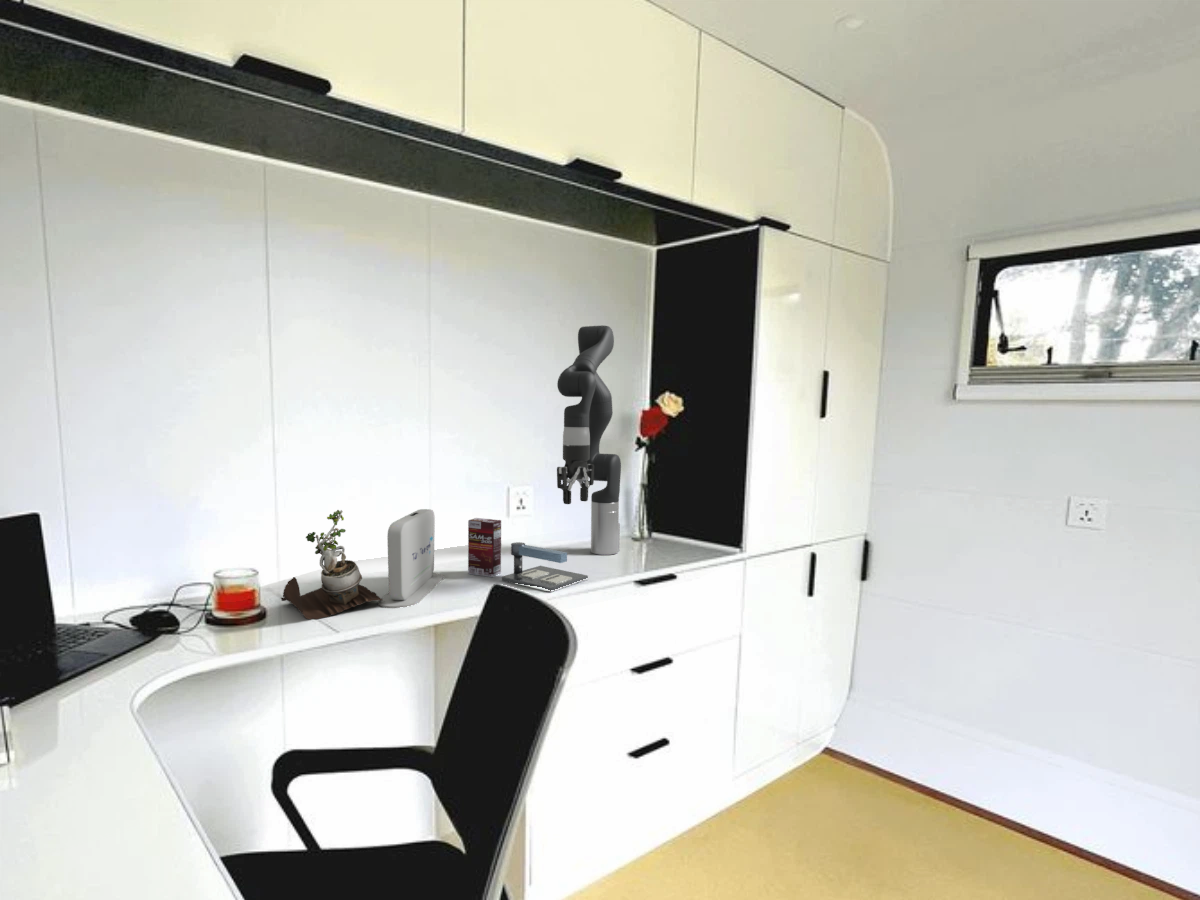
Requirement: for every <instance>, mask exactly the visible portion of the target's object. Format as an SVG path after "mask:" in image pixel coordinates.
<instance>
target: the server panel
mask: <svg viewBox="0 0 1200 900" xmlns="http://www.w3.org/2000/svg"><path fill="white" fill-rule="evenodd" d="M586 578H588V579H589V575H587V574H582V573H577V572H572V571H570V570H569V571H567V570H563V569H557V568H553V567H549V566H544V565H538V566H534V567H530V568H526V569H523V555H522V556H513V573H512V572H511V573H509V574H506V575H502V576H501V581H502V582H505V583H510V584H514V585H516V584H515V583H518V584H524V585H530V586H537V587H542V588H545V589H548V590H550V591H551V590H555V589H558V588H560V587H563V586H566V585H569V584H572V583H574V582H577V581H580V580H583V579H586Z"/></svg>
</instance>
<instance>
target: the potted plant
mask: <svg viewBox="0 0 1200 900" xmlns="http://www.w3.org/2000/svg"><path fill="white" fill-rule="evenodd" d="M342 513H344V512H343V510H342V509H340V510H339V509H337V510H336V511H333V514H331V513H330V514H329V515H328V516H326V519H327V520H332V521H333V526H332V527H331V528H330V530H329V531H328V532H327V533H326V534H325V532H320V535H318V534H316V532H315V531H312V532H309V533H307V535H306V536H305V539H306V541H307V542H311V543H314V542H315V541H316V543H317V544H316V546H315V547H314V548H315V552H314V554H315V555H318V554H320V555H321V556H320V558H319V566H320V567H321V572H320V576H321V577H320V579H321V580H320V581H321V587H319V588H317V589H314V590H312V591H311V590H310V592H307V593H304V594H302V595H301V593H300V592H301V591H300V586H299V583H298V579H297V578H296V576H294V577H292V578H291V579H290V580H288V581H287V583H286V584H285V586H284V589H283V592H282V597H280V599H281V600H280V601H281V602H285V601H287V602H289V603H290V604H292V605H293V606H294V607H295V608H296V609H297V610H298V611H299V612H300V613H301V615H303V617H304V619H307V620H312V619H313V620H319V619H322V618H327V617H328V618H329V617H331V616H332V615H333V616H334V615H337V614H338V613H342V612H344V611H345V610H349V609H351V608H352V607H353V608H355V607H357V606H358V605H359V606H361V605H362V604H366V602H368V603H369V602H372V601H373V602H374V601H378V600H380V601H381V600H383V599H381V598H382V597H380V596H379V595H378V594H377V593H376V592H375V591H371V590H370V589H368V587H366V586H364V585H362V584H360V583H361V581H362V579H363V576H362V574H361V571H360V568H359V567H358V565H357V562H355V561H353V560H348V559H347V556H346V554H345V549H346V548H345V546H343V545H339V542H338V541H337V540H336V536H337V537H338V538H340V537H341V535H342V533H343V534H344V533H346V531H347V530H346V529H344V528H340V529H339V528H338V527H336V526H337V525H338V522H339V521H340V519H341V521H344V520H345V519H344V516H343V515H342ZM319 536H320V537H319ZM337 557H341V558H340V559H341V560H338V558H337Z"/></svg>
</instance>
